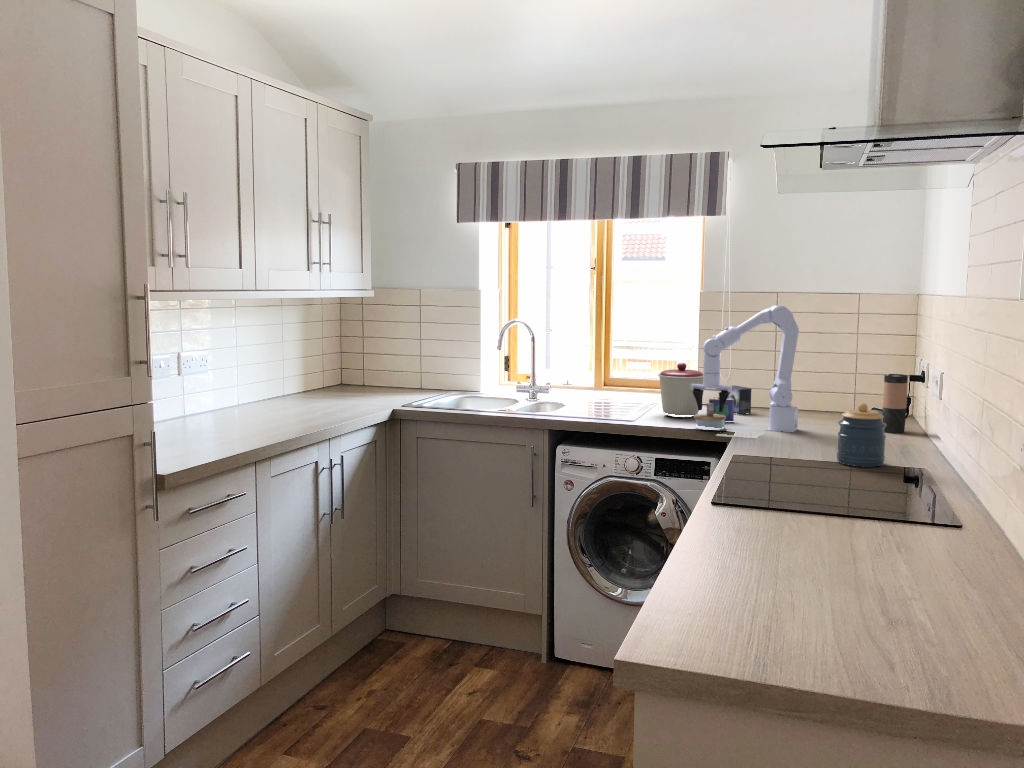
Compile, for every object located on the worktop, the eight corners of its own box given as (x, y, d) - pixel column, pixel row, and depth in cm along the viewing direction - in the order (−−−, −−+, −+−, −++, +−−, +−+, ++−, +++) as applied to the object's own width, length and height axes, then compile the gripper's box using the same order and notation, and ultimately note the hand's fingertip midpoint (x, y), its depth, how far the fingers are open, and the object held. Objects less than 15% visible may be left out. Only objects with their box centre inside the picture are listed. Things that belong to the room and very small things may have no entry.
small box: (721, 411, 350) (721, 385, 348) (734, 410, 352) (734, 385, 351) (738, 415, 340) (739, 388, 339) (751, 414, 343) (752, 388, 341)
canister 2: (827, 462, 252) (830, 403, 250) (850, 456, 260) (853, 399, 258) (870, 470, 242) (873, 408, 240) (892, 463, 250) (896, 403, 248)
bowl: (727, 428, 310) (727, 417, 310) (719, 432, 302) (719, 420, 302) (701, 425, 315) (701, 415, 315) (692, 429, 307) (692, 418, 307)
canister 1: (695, 421, 325) (697, 365, 322) (650, 417, 334) (651, 363, 331) (710, 415, 341) (711, 361, 338) (666, 411, 350) (667, 359, 347)
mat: (767, 433, 299) (767, 432, 299) (756, 440, 288) (756, 439, 288) (727, 430, 307) (727, 429, 307) (715, 436, 295) (715, 435, 295)
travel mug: (907, 434, 298) (910, 376, 296) (883, 433, 300) (886, 376, 297) (902, 430, 306) (905, 374, 303) (879, 429, 307) (882, 373, 305)
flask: (732, 422, 324) (733, 393, 323) (734, 423, 321) (735, 394, 320) (708, 421, 325) (708, 393, 323) (709, 423, 322) (710, 394, 320)
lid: (732, 418, 307) (732, 404, 306) (712, 421, 300) (712, 406, 300) (707, 414, 316) (708, 400, 315) (687, 417, 309) (688, 403, 308)
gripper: (735, 372, 306) (733, 410, 308) (695, 370, 314) (694, 407, 315) (729, 374, 300) (728, 413, 302) (688, 372, 308) (688, 410, 309)
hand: (710, 410), depth 308 cm, fingers open, 7 cm apart
